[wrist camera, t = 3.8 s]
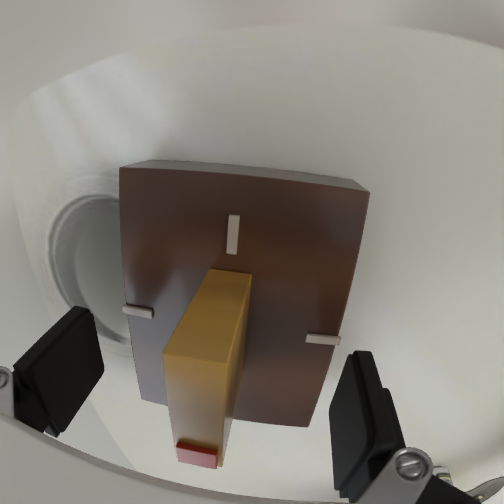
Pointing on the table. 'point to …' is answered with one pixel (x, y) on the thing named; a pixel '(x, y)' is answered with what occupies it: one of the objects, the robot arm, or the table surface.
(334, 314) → the plate
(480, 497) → the sculpture
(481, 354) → the table surface
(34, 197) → the table surface
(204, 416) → the thumbturn
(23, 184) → the table surface
